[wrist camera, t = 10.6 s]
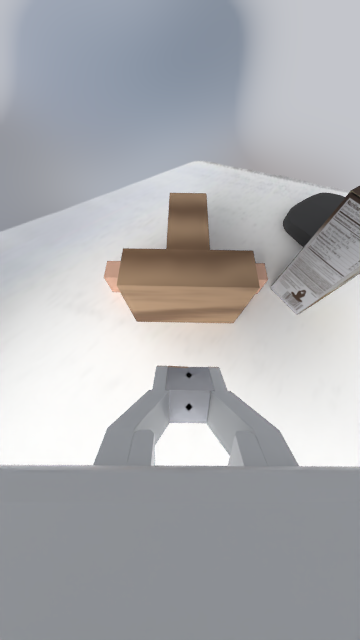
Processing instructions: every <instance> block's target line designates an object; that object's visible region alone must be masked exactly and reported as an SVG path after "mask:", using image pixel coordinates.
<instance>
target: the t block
mask: <svg viewBox="0 0 360 640" xmlns="http://www.w3.org/2000/svg"><path fill="white" fill-rule="evenodd" d="M117 287H118V289H119V291H120V292H121V294H122V296H123V298H124V299H125V301H126V303H127V305H128V307H129V308H130V310H131V312H132V314H133V316H134V317H135V319H136V321H138V322H194V323H234V322H235V320H236V319H237V318H238V316H239V315H240V314H241V312H242V311H243V310H244V308H245V307H246V306H247V304H248V303H249V302H250V300H251V299H252V298H253V296H254V295H255V294H256V292H257V291H258V289H259V288H260V286H259V281H258V275H257V270H256V264H255V258H254V253H253V251H235V250H210V245H209V229H208V212H207V196H206V194H205V193H170V198H169V215H168V232H167V249H123V252H122V258H121V263H120V269H119V274H118V280H117Z"/></svg>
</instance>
